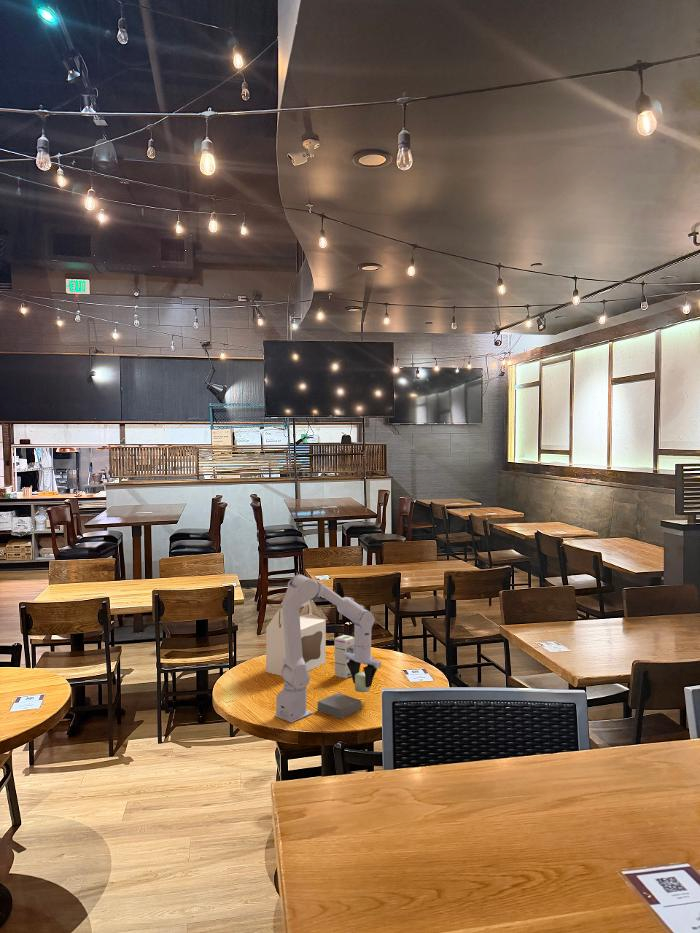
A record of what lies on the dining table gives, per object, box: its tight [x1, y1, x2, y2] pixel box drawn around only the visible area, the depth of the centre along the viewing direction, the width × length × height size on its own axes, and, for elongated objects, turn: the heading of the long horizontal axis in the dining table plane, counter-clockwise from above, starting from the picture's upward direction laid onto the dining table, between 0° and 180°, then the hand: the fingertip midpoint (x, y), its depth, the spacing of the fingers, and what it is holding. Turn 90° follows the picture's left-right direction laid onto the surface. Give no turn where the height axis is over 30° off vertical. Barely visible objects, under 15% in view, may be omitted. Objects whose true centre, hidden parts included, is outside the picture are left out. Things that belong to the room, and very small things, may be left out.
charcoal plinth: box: [317, 692, 362, 720], centre depth 201 cm, size 10×10×3 cm
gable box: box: [265, 599, 327, 677], centre depth 242 cm, size 22×13×28 cm, turn 148°
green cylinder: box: [354, 671, 371, 693], centre depth 209 cm, size 5×5×5 cm
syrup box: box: [333, 634, 354, 679], centre depth 234 cm, size 6×6×14 cm
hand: (362, 684), depth 209 cm, fingers closed on green cylinder, 5 cm apart
